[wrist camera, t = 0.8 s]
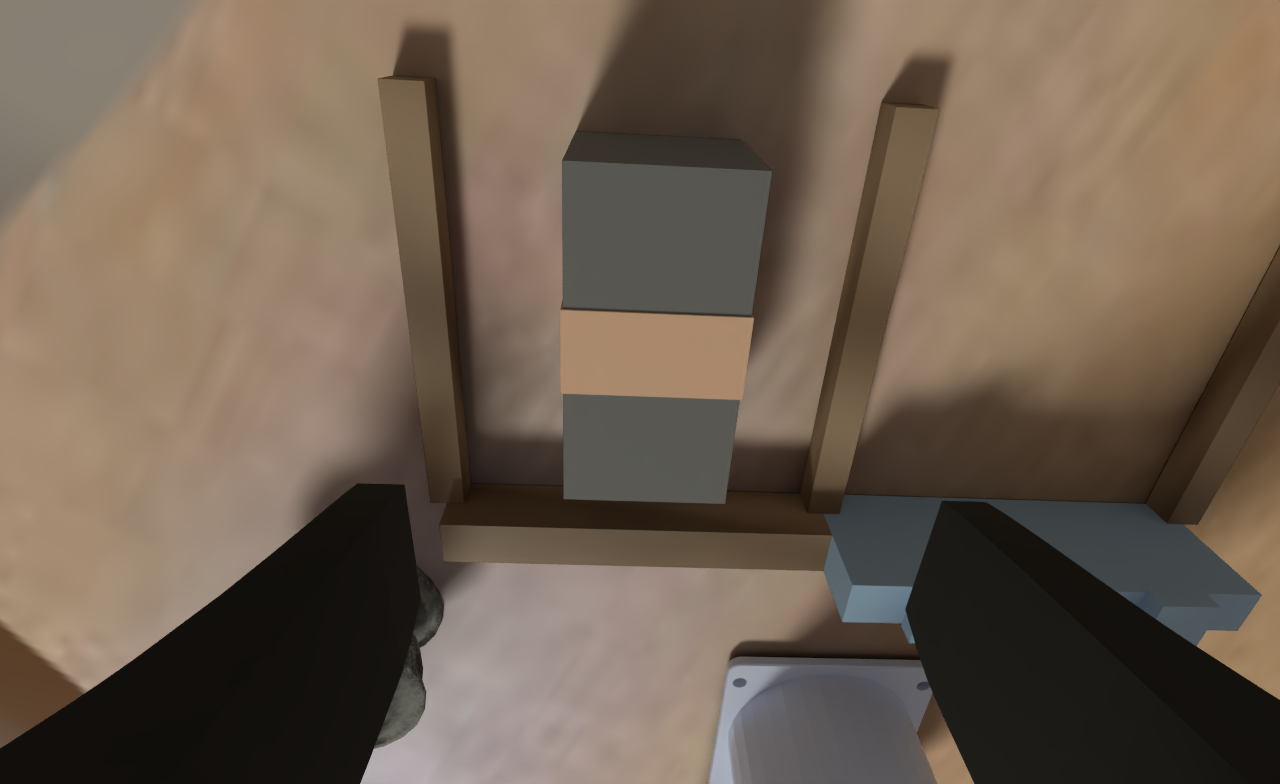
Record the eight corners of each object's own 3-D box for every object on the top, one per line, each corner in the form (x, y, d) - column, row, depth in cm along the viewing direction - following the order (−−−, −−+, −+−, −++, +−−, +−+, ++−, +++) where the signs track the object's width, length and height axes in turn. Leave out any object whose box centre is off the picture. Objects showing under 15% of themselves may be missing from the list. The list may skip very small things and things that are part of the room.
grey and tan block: (709, 419, 20) (727, 505, 17) (573, 415, 20) (561, 500, 16) (741, 139, 16) (775, 171, 13) (574, 130, 16) (559, 160, 13)
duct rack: (1155, 539, 23) (1270, 650, 19) (442, 520, 22) (401, 632, 18) (1380, 129, 16) (1626, 164, 12) (391, 75, 15) (308, 93, 11)
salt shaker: (350, 510, 21) (88, 976, 11) (486, 608, 24) (375, 1073, 13) (245, 599, 23) (-68, 1072, 13) (380, 682, 25) (208, 1145, 15)
